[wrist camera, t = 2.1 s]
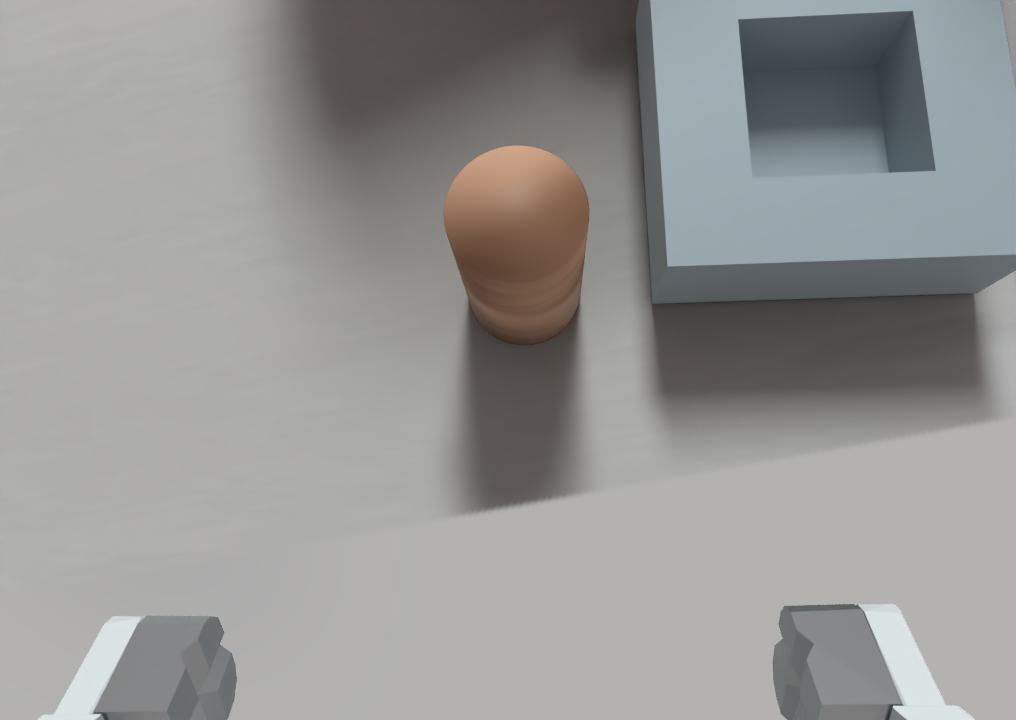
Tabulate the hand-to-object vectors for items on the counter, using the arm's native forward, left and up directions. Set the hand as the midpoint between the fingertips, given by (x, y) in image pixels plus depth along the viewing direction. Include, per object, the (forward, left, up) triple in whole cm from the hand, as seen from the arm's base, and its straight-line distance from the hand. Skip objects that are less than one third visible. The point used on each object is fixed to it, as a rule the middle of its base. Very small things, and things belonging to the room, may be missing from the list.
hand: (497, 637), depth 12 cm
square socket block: (-10, +20, -23) cm, 32 cm away
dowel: (-11, +6, -23) cm, 26 cm away
